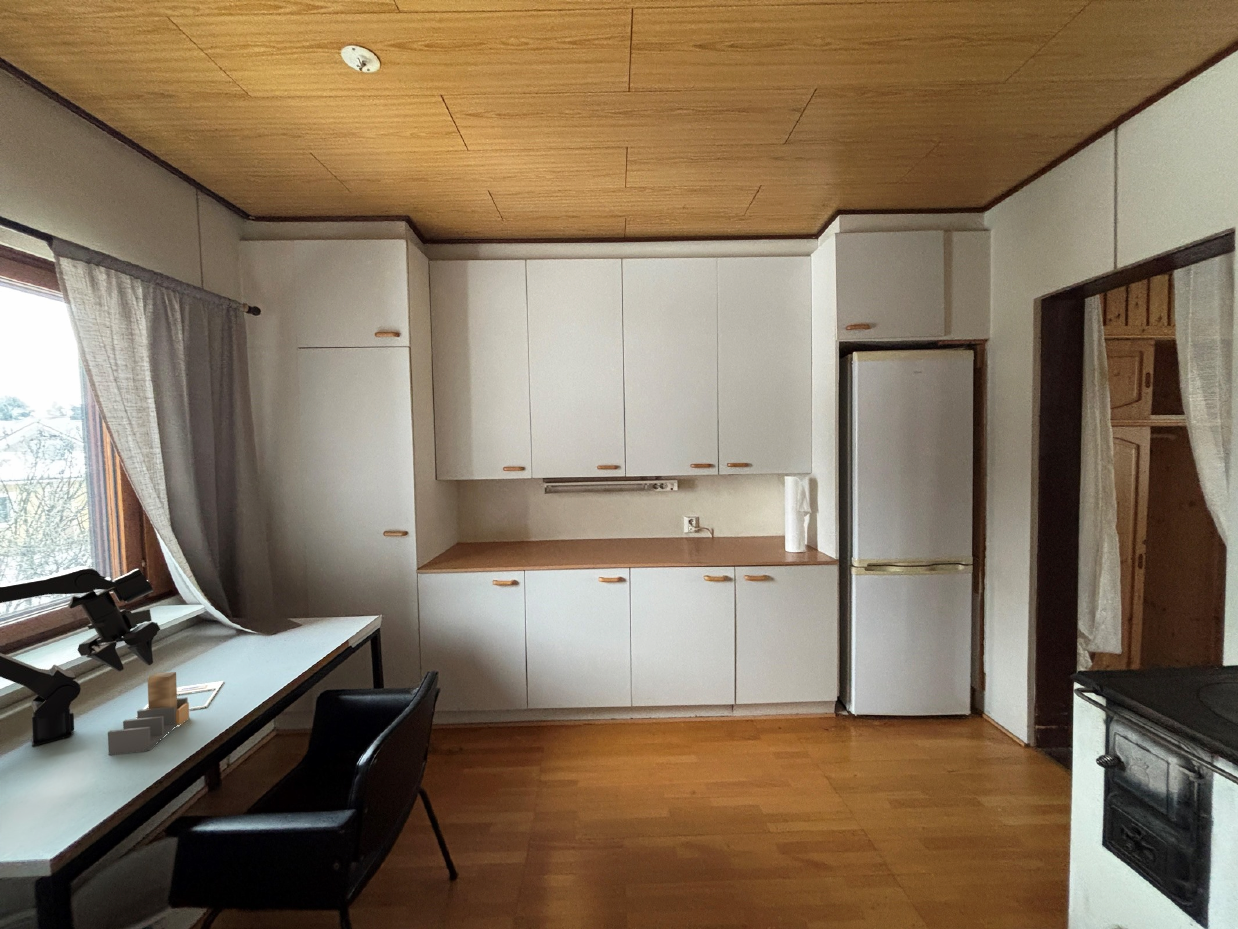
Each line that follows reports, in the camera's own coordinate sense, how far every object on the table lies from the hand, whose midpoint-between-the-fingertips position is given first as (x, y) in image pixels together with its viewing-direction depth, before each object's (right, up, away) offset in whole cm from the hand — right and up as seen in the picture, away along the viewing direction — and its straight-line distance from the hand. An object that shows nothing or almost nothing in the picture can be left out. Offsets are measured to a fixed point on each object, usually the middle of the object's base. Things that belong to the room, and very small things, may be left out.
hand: (136, 667), depth 145 cm
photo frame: (+5, -12, +9) cm, 16 cm away
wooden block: (+11, -11, -6) cm, 17 cm away
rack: (+12, -12, -11) cm, 20 cm away
